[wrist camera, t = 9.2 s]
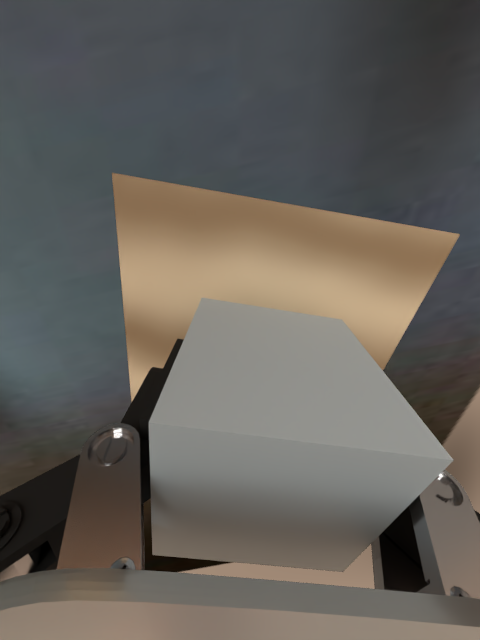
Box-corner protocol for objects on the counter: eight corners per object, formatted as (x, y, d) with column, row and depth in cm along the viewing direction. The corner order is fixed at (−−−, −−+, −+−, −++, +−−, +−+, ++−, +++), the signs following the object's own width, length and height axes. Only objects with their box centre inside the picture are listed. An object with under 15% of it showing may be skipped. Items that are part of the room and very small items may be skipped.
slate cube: (201, 297, 10) (148, 422, 4) (342, 319, 10) (454, 460, 5) (192, 401, 12) (152, 555, 7) (301, 415, 13) (343, 572, 7)
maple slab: (142, 178, 11) (112, 172, 9) (413, 226, 12) (459, 234, 10) (150, 388, 18) (133, 421, 15) (326, 411, 19) (339, 447, 16)
